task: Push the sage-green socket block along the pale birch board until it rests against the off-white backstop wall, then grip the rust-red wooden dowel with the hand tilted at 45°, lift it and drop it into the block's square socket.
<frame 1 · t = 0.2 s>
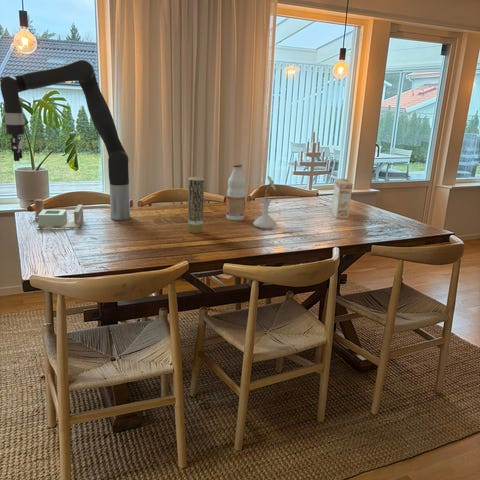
hand: (18, 159, 210), 28 cm above the table, tool pointing down, fingers open, 8 cm apart
paper tube: (195, 231, 212), on the table
coffeecake box: (339, 216, 254), on the table
backstop board: (61, 224, 212), on the table
dowel: (40, 217, 223), on the table
socket block: (52, 217, 210), point 4 cm above the table, slide at 5.0 cm
flower in vase: (264, 227, 225), on the table
fruit juice: (235, 218, 238), on the table
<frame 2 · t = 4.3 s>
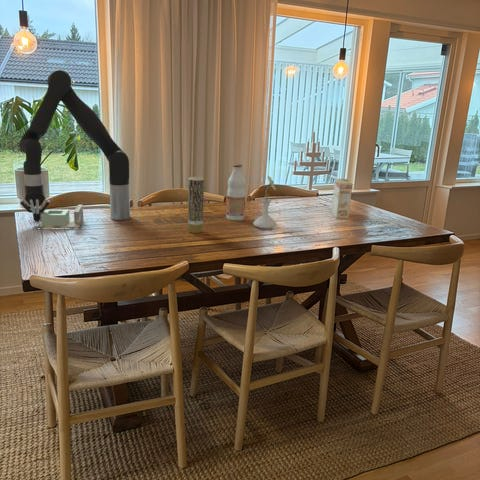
hand: (37, 221, 210), 2 cm above the table, tool pointing down, fingers closed
socket block: (55, 217, 211), point 4 cm above the table, slide at 3.8 cm, touching gripper
everything else where it was.
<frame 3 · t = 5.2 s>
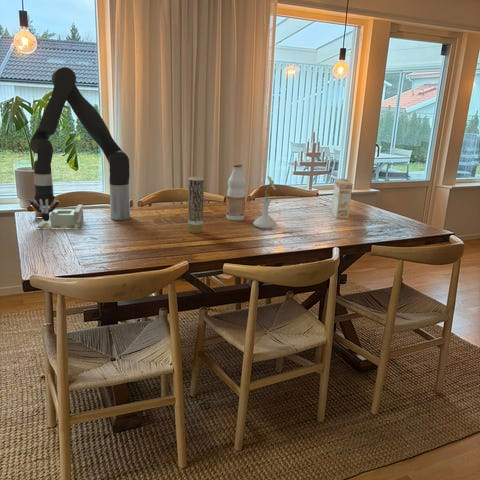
hand: (46, 220, 210), 2 cm above the table, tool pointing down, fingers closed
socket block: (64, 217, 211), point 4 cm above the table, slide at -0.1 cm, touching gripper
everything else where it was.
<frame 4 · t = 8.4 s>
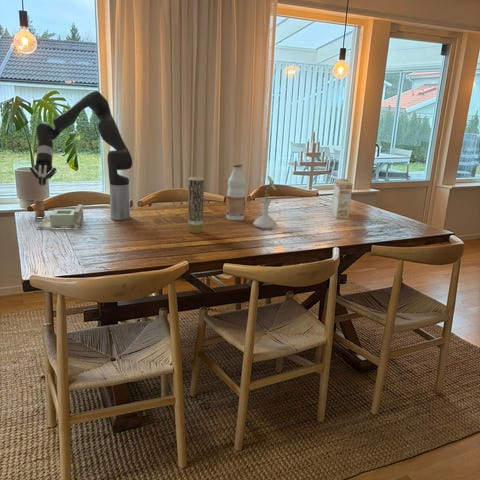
hand: (42, 184, 228), 14 cm above the table, tool tilted 45°, fingers closed
socket block: (64, 217, 211), point 4 cm above the table, slide at 0.0 cm
everything else where it was.
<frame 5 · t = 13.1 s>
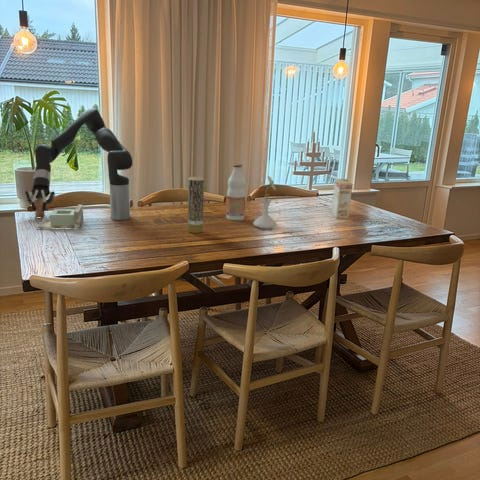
hand: (38, 210, 220), 4 cm above the table, tool tilted 45°, fingers closed on dowel, 4 cm apart
dowel: (40, 217, 223), on the table, touching gripper
everything else where it was.
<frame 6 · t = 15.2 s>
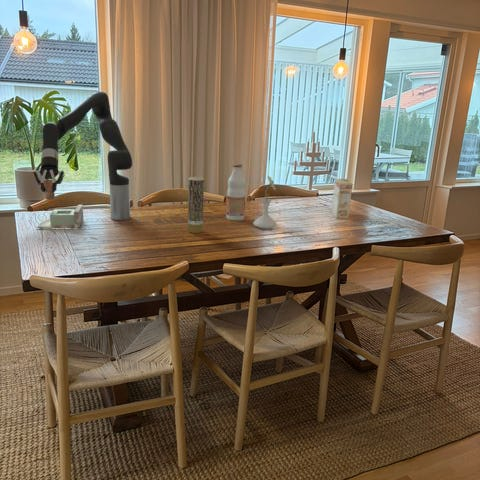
hand: (48, 191, 211), 15 cm above the table, tool tilted 45°, fingers closed on dowel, 4 cm apart
dowel: (50, 198, 214), point 11 cm above the table, touching gripper
everything else where it was.
when the fingers open (8 cm above the table, at t = 17.7 s): dowel drops 3 cm, resting on backstop board.
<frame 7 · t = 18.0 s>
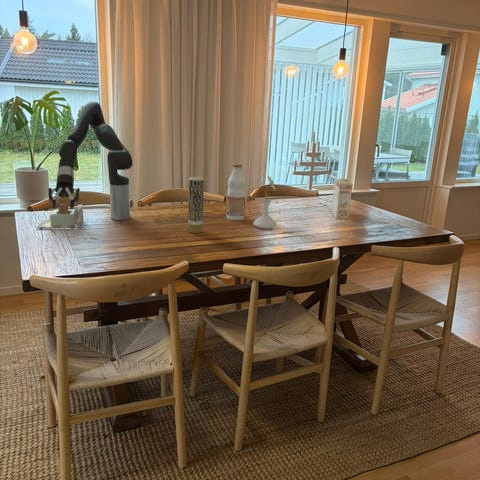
hand: (63, 208, 208), 8 cm above the table, tool tilted 45°, fingers open, 6 cm apart
dowel: (64, 222, 212), point 1 cm above the table, touching backstop board
everything else where it was.
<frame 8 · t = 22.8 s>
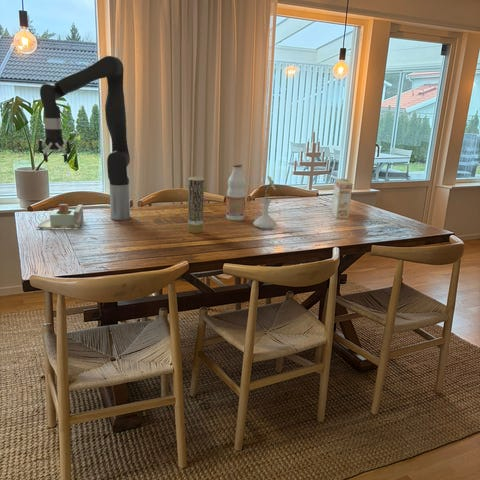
hand: (56, 162, 222), 26 cm above the table, tool pointing down, fingers open, 8 cm apart
nothing on the table moved.
at the end: socket block slide at 0.0 cm; dowel 0.1 cm from the target spot, point 1.0 cm above the table; dowel tilted 0° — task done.
